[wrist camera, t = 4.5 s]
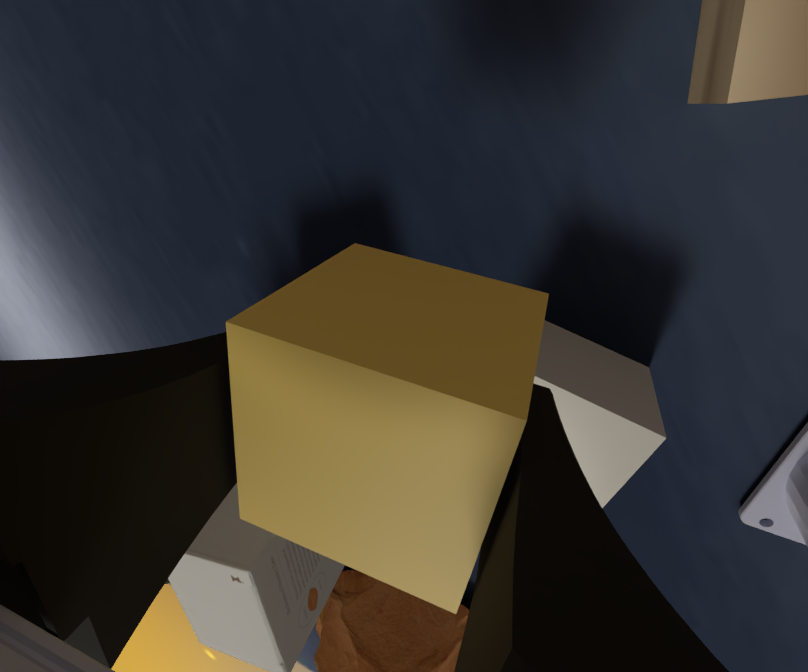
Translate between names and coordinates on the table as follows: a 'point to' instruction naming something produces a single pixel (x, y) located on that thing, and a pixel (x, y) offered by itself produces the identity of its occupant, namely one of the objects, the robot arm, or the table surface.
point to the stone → (385, 629)
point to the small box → (252, 589)
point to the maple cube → (750, 51)
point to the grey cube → (600, 407)
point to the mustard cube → (383, 413)
